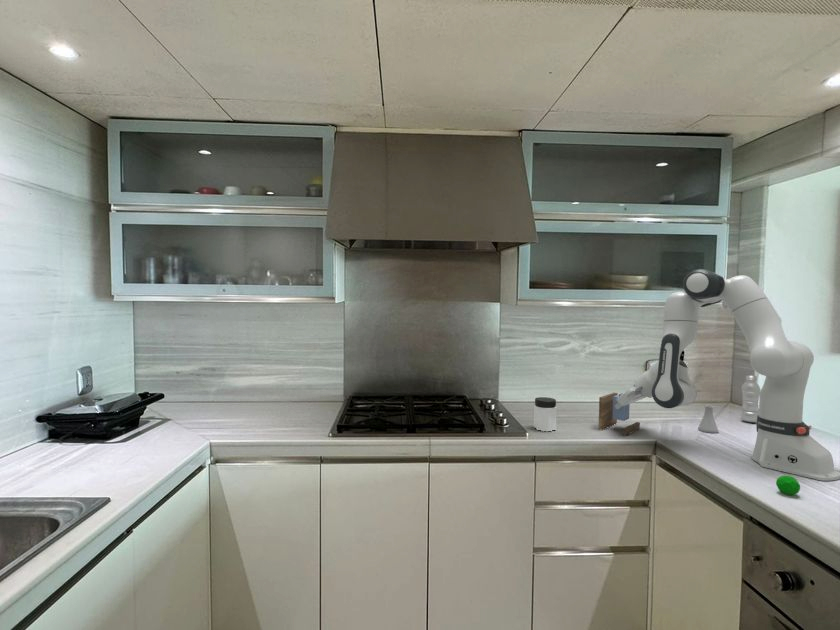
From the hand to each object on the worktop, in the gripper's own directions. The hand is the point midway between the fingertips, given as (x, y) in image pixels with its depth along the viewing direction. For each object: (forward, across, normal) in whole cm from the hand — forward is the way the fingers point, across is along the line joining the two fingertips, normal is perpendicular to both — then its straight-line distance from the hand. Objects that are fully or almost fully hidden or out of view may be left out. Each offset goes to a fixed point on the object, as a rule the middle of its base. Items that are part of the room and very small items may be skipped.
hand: (619, 406), depth 184 cm
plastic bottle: (-18, +53, -30) cm, 64 cm away
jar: (+21, -23, +8) cm, 32 cm away
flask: (-12, +24, -24) cm, 36 cm away
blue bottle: (+3, 0, -4) cm, 5 cm away
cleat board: (+6, 0, -7) cm, 9 cm away
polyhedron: (-34, -29, -46) cm, 64 cm away
